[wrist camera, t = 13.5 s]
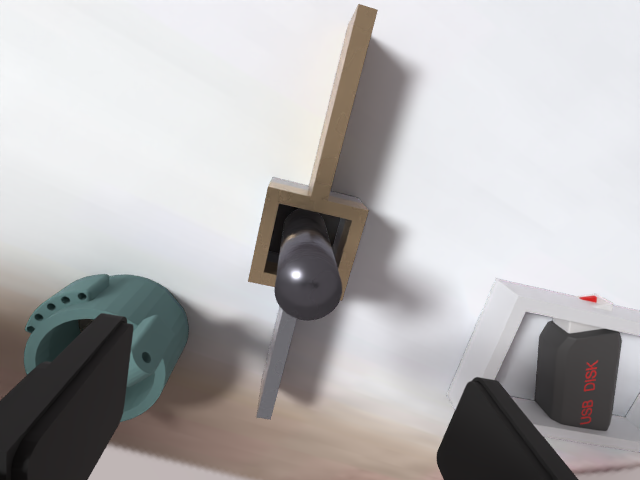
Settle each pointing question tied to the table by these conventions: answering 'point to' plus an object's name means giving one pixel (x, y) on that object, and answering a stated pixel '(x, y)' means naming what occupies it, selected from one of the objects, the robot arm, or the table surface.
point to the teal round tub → (140, 310)
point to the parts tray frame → (498, 334)
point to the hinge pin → (307, 268)
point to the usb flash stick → (578, 371)
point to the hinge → (316, 200)
